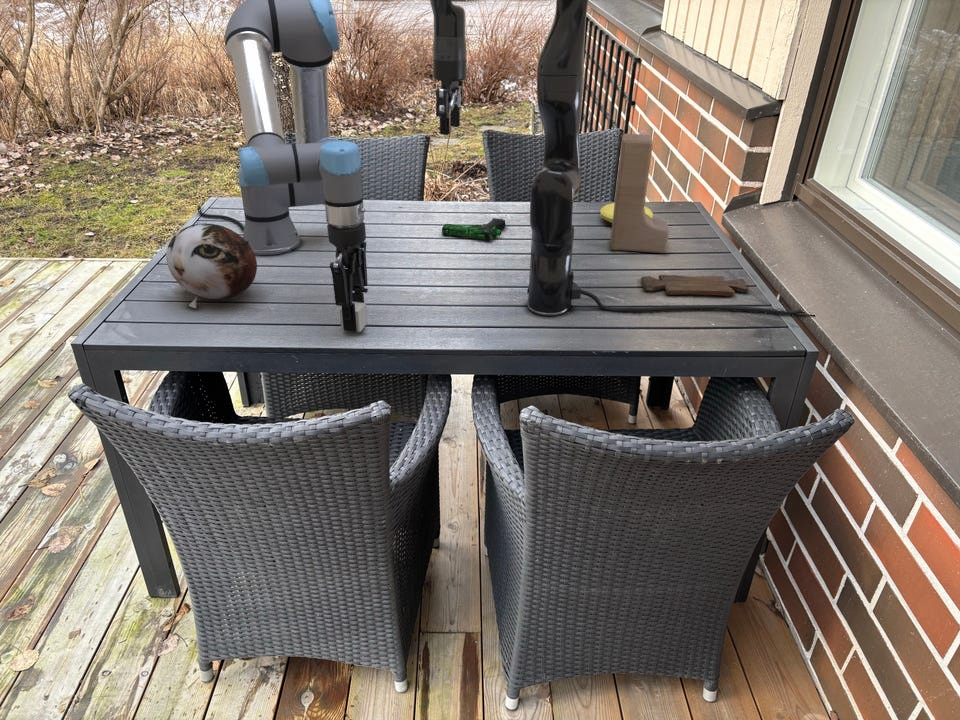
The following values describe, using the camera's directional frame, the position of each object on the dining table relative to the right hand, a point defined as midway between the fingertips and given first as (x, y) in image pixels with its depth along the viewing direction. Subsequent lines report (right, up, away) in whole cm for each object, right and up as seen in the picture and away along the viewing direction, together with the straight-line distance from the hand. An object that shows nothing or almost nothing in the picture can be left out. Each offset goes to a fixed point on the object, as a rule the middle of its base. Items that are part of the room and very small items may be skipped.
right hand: (450, 130), depth 169 cm
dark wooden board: (+60, -37, +7) cm, 71 cm away
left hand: (-20, -47, -14) cm, 53 cm away
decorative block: (+51, -23, +30) cm, 64 cm away
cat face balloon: (-55, -39, 0) cm, 68 cm away
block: (-20, -47, -14) cm, 53 cm away
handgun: (+6, -17, +39) cm, 43 cm away
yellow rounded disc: (+51, -13, +47) cm, 71 cm away
